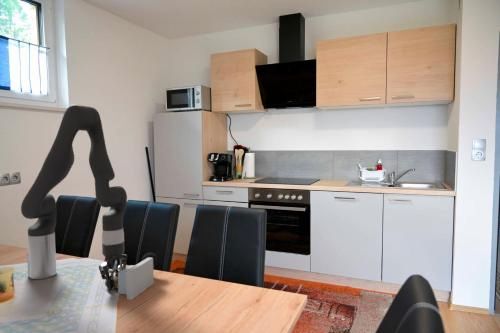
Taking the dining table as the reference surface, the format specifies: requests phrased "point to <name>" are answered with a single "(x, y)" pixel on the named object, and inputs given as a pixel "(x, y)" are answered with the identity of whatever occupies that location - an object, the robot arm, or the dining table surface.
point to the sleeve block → (123, 281)
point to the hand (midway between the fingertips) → (114, 286)
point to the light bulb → (151, 255)
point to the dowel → (114, 282)
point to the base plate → (139, 278)
